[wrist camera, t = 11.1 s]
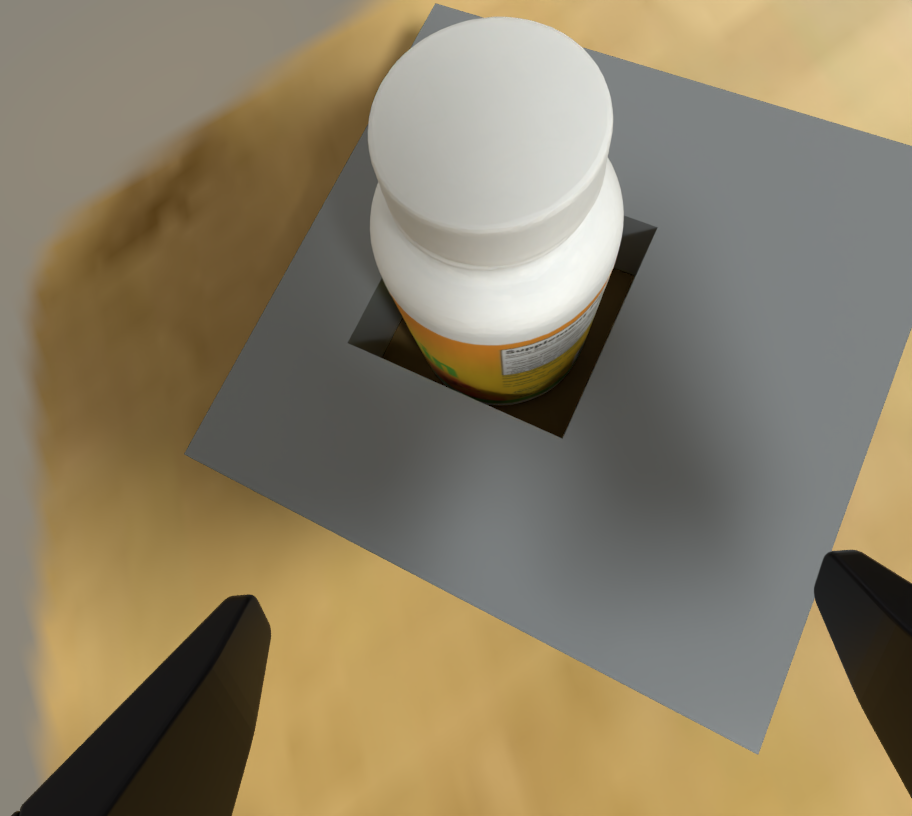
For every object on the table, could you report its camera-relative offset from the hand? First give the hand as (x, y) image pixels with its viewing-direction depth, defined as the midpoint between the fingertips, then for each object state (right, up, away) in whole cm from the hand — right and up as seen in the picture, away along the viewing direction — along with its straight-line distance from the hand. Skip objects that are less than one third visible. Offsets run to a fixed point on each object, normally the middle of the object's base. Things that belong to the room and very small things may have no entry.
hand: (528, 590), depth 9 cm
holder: (+2, +5, +9) cm, 11 cm away
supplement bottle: (0, +6, +10) cm, 11 cm away
